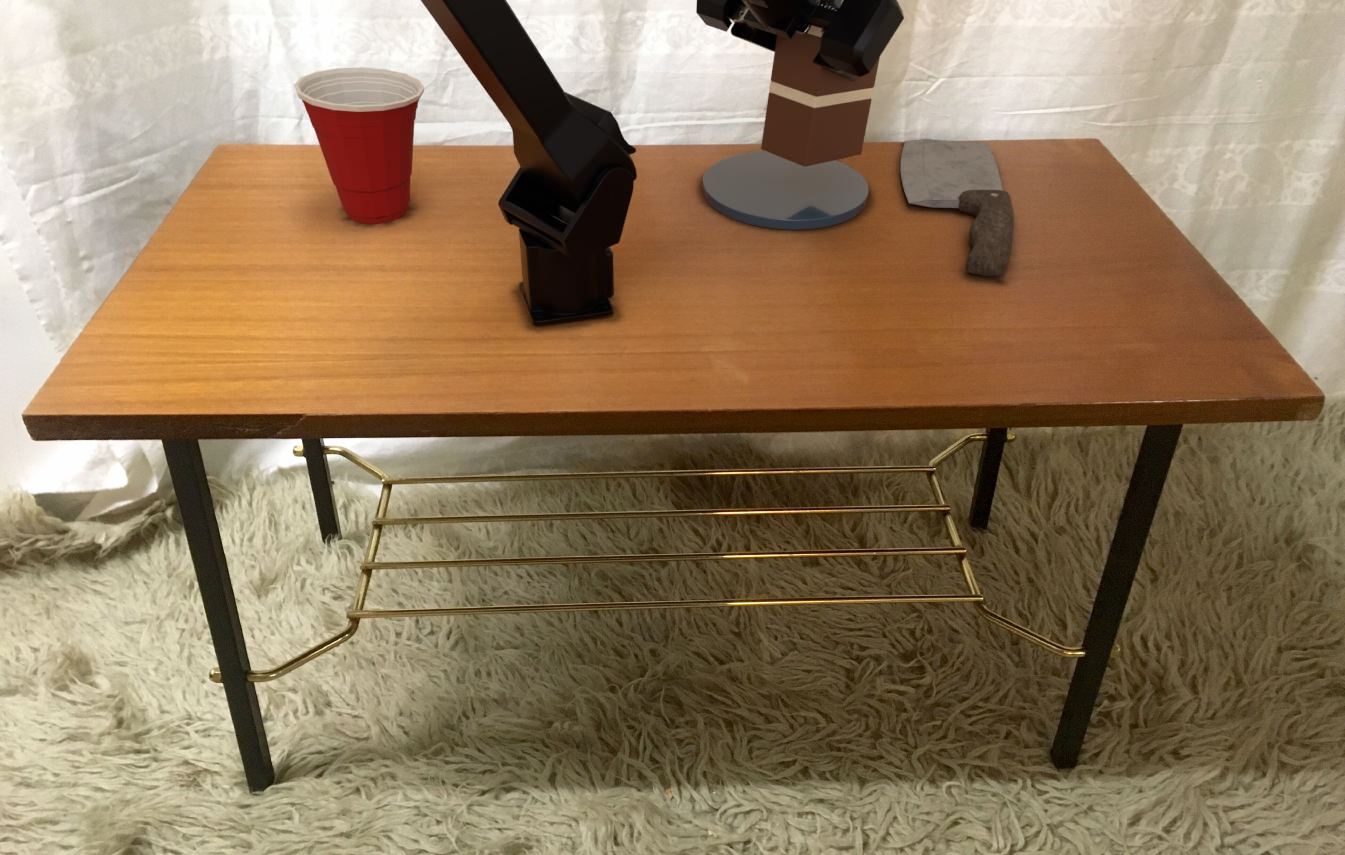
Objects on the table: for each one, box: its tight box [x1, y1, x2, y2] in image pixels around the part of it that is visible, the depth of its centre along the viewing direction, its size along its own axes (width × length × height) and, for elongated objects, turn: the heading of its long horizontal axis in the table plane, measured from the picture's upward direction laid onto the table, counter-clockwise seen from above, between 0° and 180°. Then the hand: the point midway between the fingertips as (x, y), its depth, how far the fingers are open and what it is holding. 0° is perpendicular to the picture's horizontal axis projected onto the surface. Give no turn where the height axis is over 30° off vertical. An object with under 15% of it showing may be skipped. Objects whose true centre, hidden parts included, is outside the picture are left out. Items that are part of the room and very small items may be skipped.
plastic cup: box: [293, 67, 425, 224], centre depth 95 cm, size 11×11×12 cm
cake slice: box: [760, 25, 881, 167], centre depth 95 cm, size 8×6×13 cm
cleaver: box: [899, 138, 1015, 277], centre depth 101 cm, size 29×10×2 cm, turn 173°
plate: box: [702, 150, 870, 231], centre depth 103 cm, size 16×16×1 cm
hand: (831, 67), depth 95 cm, fingers closed on cake slice, 5 cm apart
